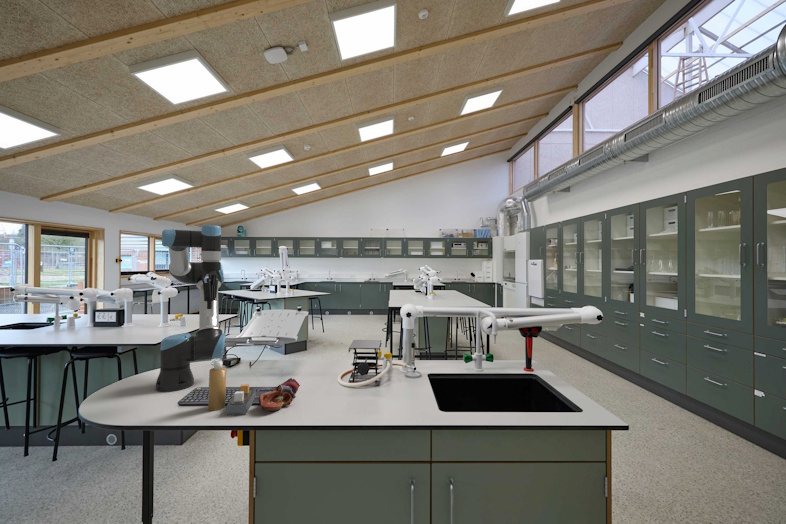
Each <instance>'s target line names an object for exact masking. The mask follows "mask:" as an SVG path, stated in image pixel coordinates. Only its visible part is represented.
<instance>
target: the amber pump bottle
mask: <svg viewBox="0 0 786 524" xmlns="http://www.w3.org/2000/svg"><path fill="white" fill-rule="evenodd" d="M208 372H209V375H208V376H209V377H208V397H207V398H208V401H207V402H208V403H207V409H208V411H218V410H219V411H221V410H222V409H224V408H226V390H227V368H226V367H224V366H223V361H222V360H217V361H214V362H213V367H212V368H210V369H209V371H208Z"/></svg>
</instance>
